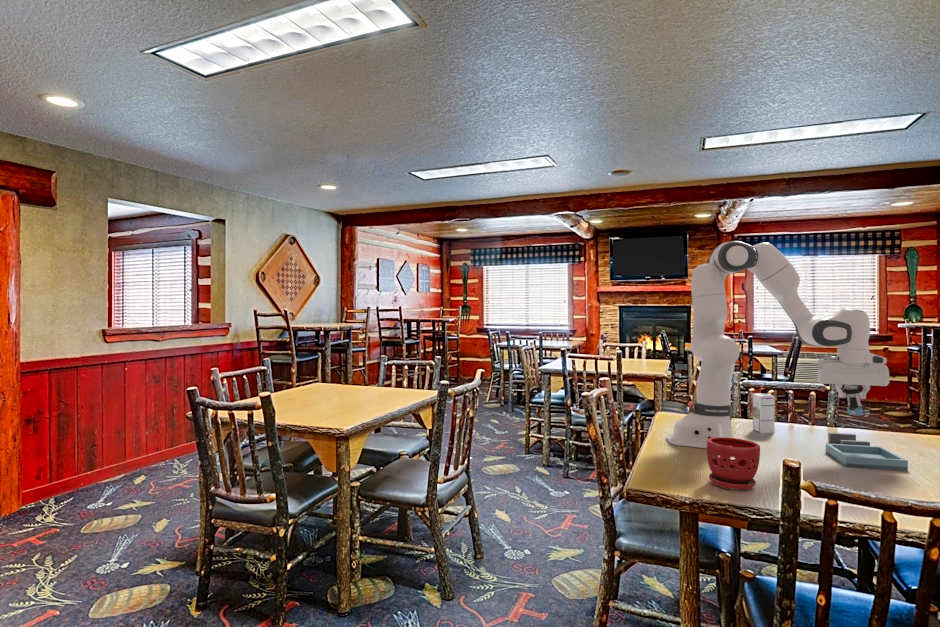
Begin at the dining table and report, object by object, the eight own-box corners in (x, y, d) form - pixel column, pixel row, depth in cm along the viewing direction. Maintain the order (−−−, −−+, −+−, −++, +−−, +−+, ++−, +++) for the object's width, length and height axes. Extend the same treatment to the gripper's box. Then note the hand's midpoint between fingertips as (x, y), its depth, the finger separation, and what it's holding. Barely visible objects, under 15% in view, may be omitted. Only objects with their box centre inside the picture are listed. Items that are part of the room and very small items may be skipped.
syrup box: (775, 433, 205) (775, 395, 205) (759, 433, 205) (759, 395, 205) (767, 429, 211) (767, 393, 211) (751, 429, 211) (752, 393, 211)
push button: (874, 413, 179) (867, 383, 179) (865, 417, 176) (858, 387, 177) (852, 412, 185) (846, 383, 185) (843, 415, 182) (837, 386, 183)
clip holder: (842, 451, 181) (842, 440, 180) (828, 442, 192) (828, 432, 192) (869, 452, 179) (870, 442, 178) (853, 443, 190) (854, 433, 190)
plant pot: (762, 496, 139) (762, 449, 139) (706, 489, 144) (706, 444, 144) (757, 480, 151) (757, 438, 151) (706, 474, 156) (706, 433, 156)
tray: (846, 466, 164) (846, 456, 164) (825, 452, 179) (825, 443, 179) (907, 470, 160) (907, 460, 160) (881, 455, 175) (881, 446, 175)
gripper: (821, 357, 180) (821, 398, 180) (892, 358, 175) (891, 401, 175) (814, 355, 186) (813, 395, 186) (882, 357, 181) (881, 397, 182)
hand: (852, 398), depth 181 cm, fingers closed on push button, 4 cm apart
